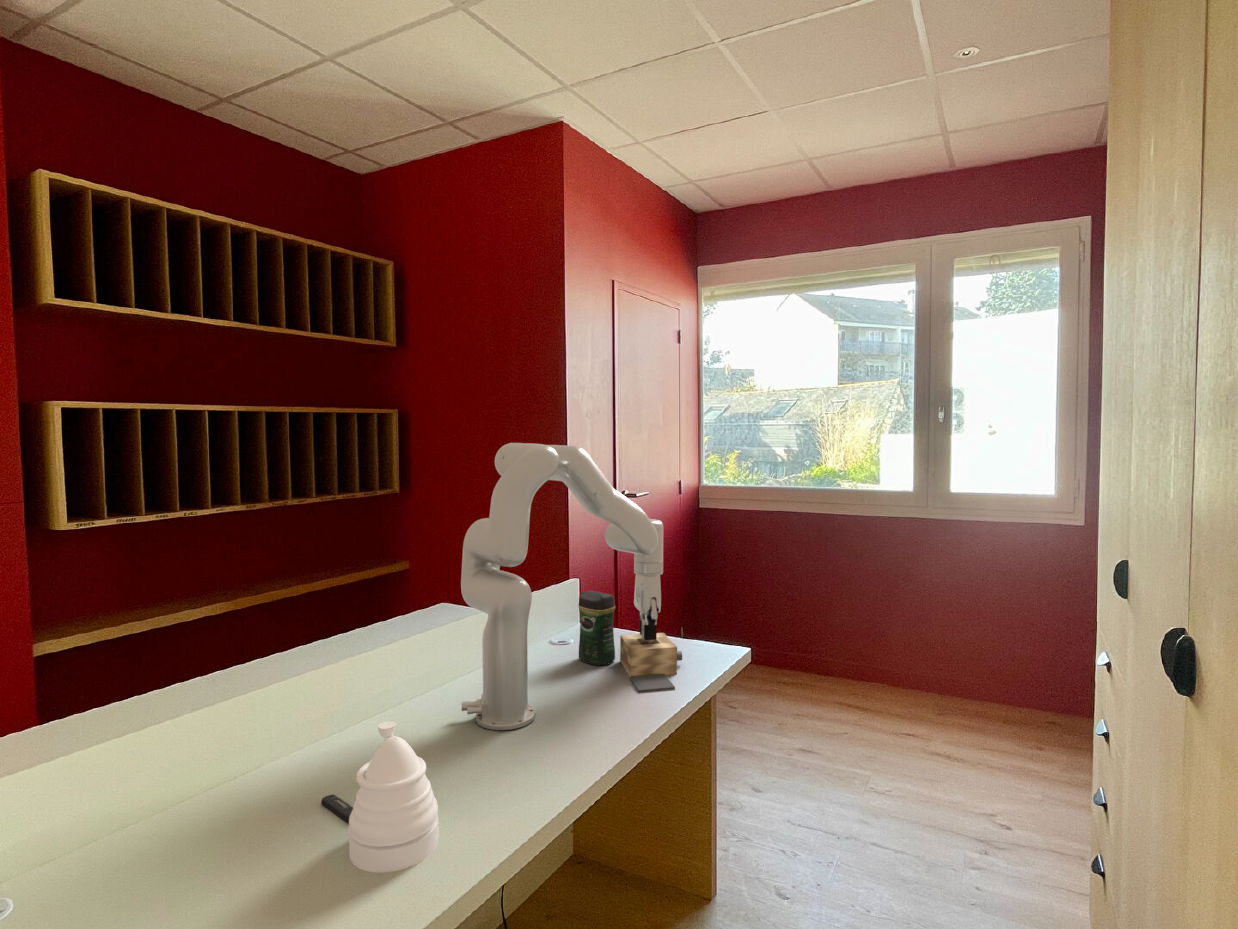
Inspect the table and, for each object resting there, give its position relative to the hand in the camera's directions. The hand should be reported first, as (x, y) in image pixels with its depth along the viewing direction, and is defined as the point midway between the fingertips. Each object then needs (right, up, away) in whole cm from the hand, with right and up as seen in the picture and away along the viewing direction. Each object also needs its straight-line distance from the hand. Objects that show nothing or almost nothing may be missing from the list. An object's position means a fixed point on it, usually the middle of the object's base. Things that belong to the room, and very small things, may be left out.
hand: (648, 636), depth 178 cm
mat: (0, -9, -11) cm, 14 cm away
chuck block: (+1, -8, +1) cm, 8 cm away
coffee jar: (-13, -8, +6) cm, 17 cm away
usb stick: (-53, -13, -65) cm, 85 cm away
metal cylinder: (0, -5, 0) cm, 5 cm away
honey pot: (-41, -13, -74) cm, 86 cm away
